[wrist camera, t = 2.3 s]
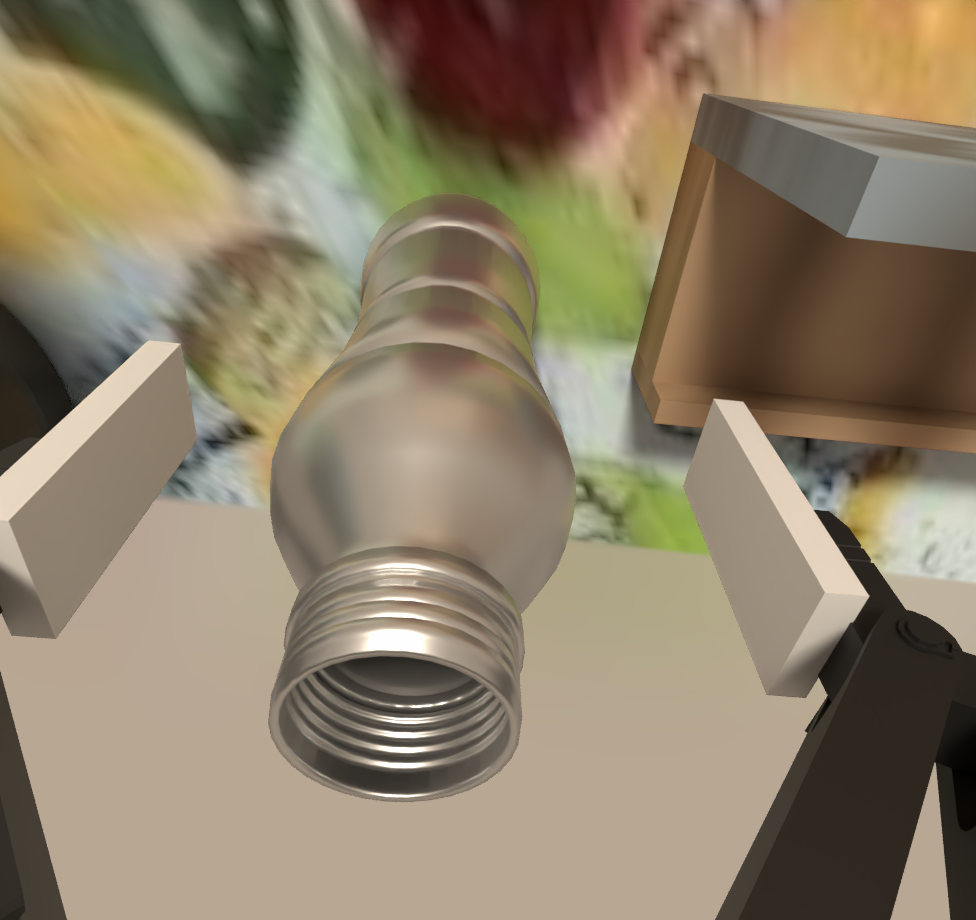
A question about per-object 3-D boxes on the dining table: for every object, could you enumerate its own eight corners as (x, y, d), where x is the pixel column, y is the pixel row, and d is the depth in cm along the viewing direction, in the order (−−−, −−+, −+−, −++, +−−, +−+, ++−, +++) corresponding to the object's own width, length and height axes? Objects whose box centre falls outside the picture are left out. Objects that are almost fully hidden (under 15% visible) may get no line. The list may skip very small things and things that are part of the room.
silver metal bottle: (551, 193, 24) (697, 588, 7) (518, 358, 28) (566, 861, 11) (377, 164, 23) (115, 522, 7) (367, 336, 27) (184, 833, 11)
